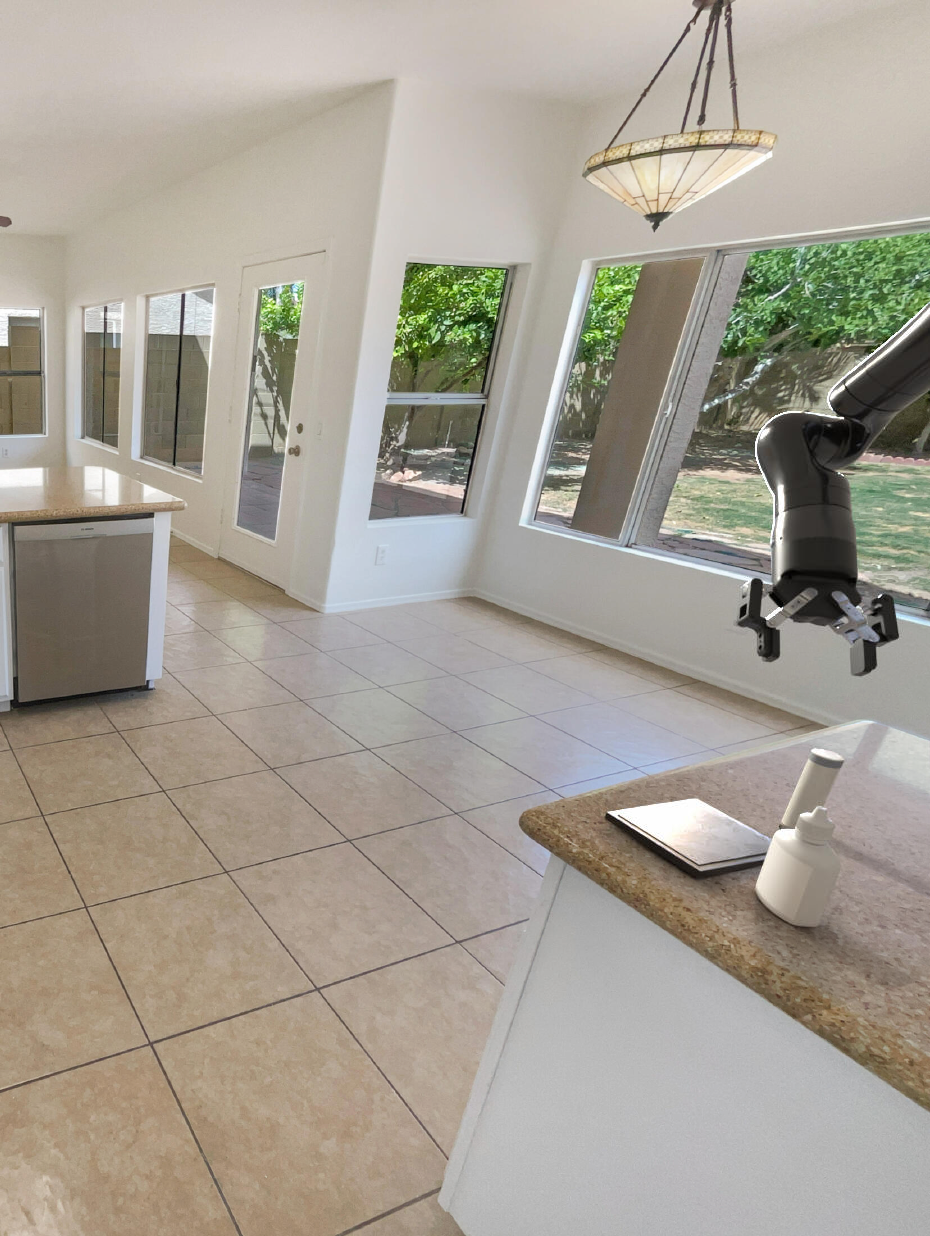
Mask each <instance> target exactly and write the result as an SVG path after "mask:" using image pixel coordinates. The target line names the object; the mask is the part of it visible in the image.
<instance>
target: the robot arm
mask: <svg viewBox="0 0 930 1236" xmlns="http://www.w3.org/2000/svg"><path fill="white" fill-rule="evenodd" d="M929 391H930V301H929V302H928V303H927V304H925V306H923V307H922V309H920V310H919V312H918V313H916V315H915V316H913V318H911V319H910V320H909V321H908V322H907V323H906V324H905V325H903V327H902V328H901V329H900V330H899V331H898V332H896V333H895V334H894V335H892V336H891V337H890V338H889V339H888V340H887V341H886V342H884V343H883V344H882V345H881V346H880V347H878V348H877V349H876V350H874V352H873V353H871V354H869V356H867V358H865V359H864V360H863V361H862V362H860V363H859V364H858V365H857V366H855V367H854V368H853V369H851V371H849V372H848V373H847V374H846V375H845V376H844V377H842V378H841V379H840V380H839V381H838V382H837V383H836V384H835V385H833V387H832V388H831V389H830V391H829V392H828V396H827V403H828V406H829V408H830V409H831V410H832V411H833V412H834V413H835V414H836V415H838V416H839V417H837V416H831V415H825V414H820V413H813V412H807V411H800V410H799V411H797V410H793V411H787V412H786V411H785V412H783V413H780V414H778V415H775V416H774V417H772V418H771V419H769V420H768V421H767V422H766V423H765V425H764V426H763V427H762V428H761V430H760V431H759V433H758V435H757V438H756V441H755V457H756V461H757V464H758V466H759V469H760V471H761V473H762V476H763V478H764V480H765V483H766V485H767V487H768V489H769V491H770V493H771V494H772V497H773V507H772V508H773V524H772V530H771V536H770V544H769V547H770V552H771V553H770V563H771V564H770V565H771V566H770V571H771V572H770V573H771V575H770V576H771V577H770V579H771V581H770V582H771V583H772V584H769V583H765V582H764V581H763V580H762V579H761V578H758V577H753V578H752V579H750V580H749V581H748V582H746V583H745V584H743V585H742V586H741V587H740V588H739V594H738V595H739V596H738V606H737V607H738V608H737V617H736V618H737V619H736V625H737V626H738V627H739V628H748V629H751V630H753V632H755V634H756V653H757V655H758V657H761V661H762V662H764V663H772V662H775V661H777V660H778V659H779V658H780V656H781V629H778V628H777V627H779V626H780V625H781V624H783V623H784V622H785V621H786V620H787V619H790V620H792V622H793V623H795V624H796V623H797V624H812V625H815V626H818V627H826V626H828V627H829V628H830V629H831V630H832V632H834V633H835V634H836V635H839V636H842V637H843V638H844V639H845V640H846V641H847V642H848V643H849V644H850V645H851V647H849V662H850V674H851V676H853V677H864V676H866V675H869V674H870V673H871V672H872V671H874V670H876V668H877V666H878V657H877V656H878V655H877V654H878V653H877V648H881V647H883V646H885V645H887V644H890V643H891V642H894V641H896V640H898V639H899V638H900V632H899V627H898V626H899V625H898V619H897V612H896V607H895V599H894V597H893V596H892V595H891V594H888V593H884V594H880V595H879V596H867V595H861V593H860V592H859V591H858V589H857V583H858V580H859V579H858V578H859V570H858V569H859V567H858V549H857V530H856V525H855V522H854V518H853V507H852V505H853V504H852V489H851V484H850V483H851V482H850V481H849V480H848V478H847V477H846V476H845V475H843V474H842V473H840V472H837V471H840V470H843V469H845V468H847V467H849V466H852V465H853V464H854V463H856V462H857V461H858V460H859V459H860V458H861V457H862V456H863V455H864V454H865V453H866V452H867V450H868V449H869V448H870V446H871V445H872V443H873V442H874V441H875V440H876V439H877V438H878V436H879V435H880V434H881V433H882V432H883V431H884V429H885V428H886V427H887V426H888V425H889V423H890V422H891V421H892V420H893V419H894V418H895V417H896V416H897V414H899V413H900V412H902V411H904V409H906V408H907V407H908V406H910V405H911V404H913V403H914V402H915V401H917V400H918V399H919V398H921V397H922V396H923V395H925V394H926V393H928V392H929ZM767 596H768V597H769V599H770V600H771V601H772V602H773V603H774V605H776V607H778V608H777V609H776V610H774V611H773V612H772V613H771V614H769V615H768V616H767V617H763V616H761V612H762V599H764V598H766V597H767ZM857 607H858V608H860V609H861V610H862V611H859V610H858V609H857ZM844 618H846V619H847V621H848V622H847V623H845V622H844V621H842V620H843V619H844Z"/></svg>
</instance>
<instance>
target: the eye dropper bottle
mask: <svg viewBox="0 0 930 1236" xmlns="http://www.w3.org/2000/svg"><path fill="white" fill-rule="evenodd" d="M835 828H836V824H835V823H834V821H833V820H831V819H829V818H828V808H827V807H825V806H817V807H816V808H815V810H814V811H813V812H812V813H803V814H801V815H800V816H799V819H798V821H797V824H796V827H795V830H794V829H792V828H789V829H782V830H781V829H778V830H777V831H775V832H774V834H773V837H772V838H771V839H772V841H771V844H770V846H769V849H768V852H767V855H766V858H765V860H764V863H763V866H761V869H760V872H759V875H758V878H757V880H756V884H755V886H754V890H755V894H756V896H757V898H758V900H759V901H760V902H761V903H762V904H763V905H764V906H765V907H766V908H767V909H768V910H769V911H770V912H772V913H773V914H774V915H775V916H777V917H779V918H780V919H782V920H783V921H785V922H786V923H788V924H790V925H792V926H795V927H807V928H817V927H819V925H820V923H821V921H822V919H823V916H824V913H825V910H826V907H827V906H828V903H829V900H830V898H831V896H832V893H833V890H834V887H835V885H836V882H837V880H838V877H839V874H840V871H841V868H842V867H841V862H840V859H839V857H838V854H836V852H835V850H834V849H833V848H832V847H831V846H830V841H831V839H832V836H833V833H834V831H835Z"/></svg>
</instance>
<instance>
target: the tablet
mask: <svg viewBox="0 0 930 1236" xmlns="http://www.w3.org/2000/svg"><path fill="white" fill-rule="evenodd" d="M604 820H606V821H607V822H608V823H610V824H612V825H613V826H615V827H617V828H618V829H619V830H621V831H623V832H624V833H625V834H627V835H629V836H630V837H632V838H634V839H636V841H638V842H640V843H641V844H643V845H645V846H646V847H647V848H649V849H651V850H652V851H653V852H655V853H657V854H658V855H660V856H662V857H663V858H664V859H666V860H668V861H669V862H671V863H672V864H674V865H675V866H677V867H678V868H680V869H682V870H683V871H685V872H686V873H688V874H689V875H690V876H692V877H694V878H695V879H697V880H698V879H704V878H709V877H710V878H711V877H715V876H720V875H726V874H730V873H735V872H742V871H745V870H746V871H747V870H750V869H755V868H760V867H762V866H763V863H764V860H765V858H766V855H767V852H768V849H769V846H770V844H771V841H772V839H773V838H770V837H769V836H767V835H765V834H763V833H761V832H760V831H757V830H755V829H754V828H752V827H750V826H748V825H746V824H744V823H743V822H741V821H739V820H737V819H735V818H733V816H732V817H731V816H730V815H728V814H726V813H724V812H722V811H720V810H719V809H717V808H715V807H713V806H711V805H710V804H707V803H705V802H704V801H703V800H700V799H698V798H688V799H682V800H676V801H669V802H663V803H657V804H650V805H643V806H636V807H630V808H624V809H623V808H622V809H617V810H610V811H606V812H605V816H604Z"/></svg>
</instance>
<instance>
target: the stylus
mask: <svg viewBox="0 0 930 1236" xmlns="http://www.w3.org/2000/svg"><path fill="white" fill-rule="evenodd" d="M844 763H845V757H844V756H843V755H841V754H840V753H837V752H835V751H832V750H827V749H823V748H813V749H812V750H811V751H810V754H809V755H808V759H807V760H806V763H805V765H804V768H803V771H802V773H801V775H800V776H799V779H798V781H797V784H796V787H795V789H794V791H793V793H792V795H791V798H790V800H789V803H788V805H787V807H786V809H785V812H784V814H783V816H782V818H781V823H780V824H779V825H778V828H779V830H782V829H792V830H795V827H796V824H797V821H798V819H799V816H800V815H801V814H803V813H812V812H813V811H814V810H815V808H816V807H817V806H823V807H825V804H826V801H827V799H828V797H829V796H830V793H831V791H832V789H833V787H834V784H835V782H836V779H837V777H838V775H839V773H840V771H841V769H842V767H843V765H844Z"/></svg>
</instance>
